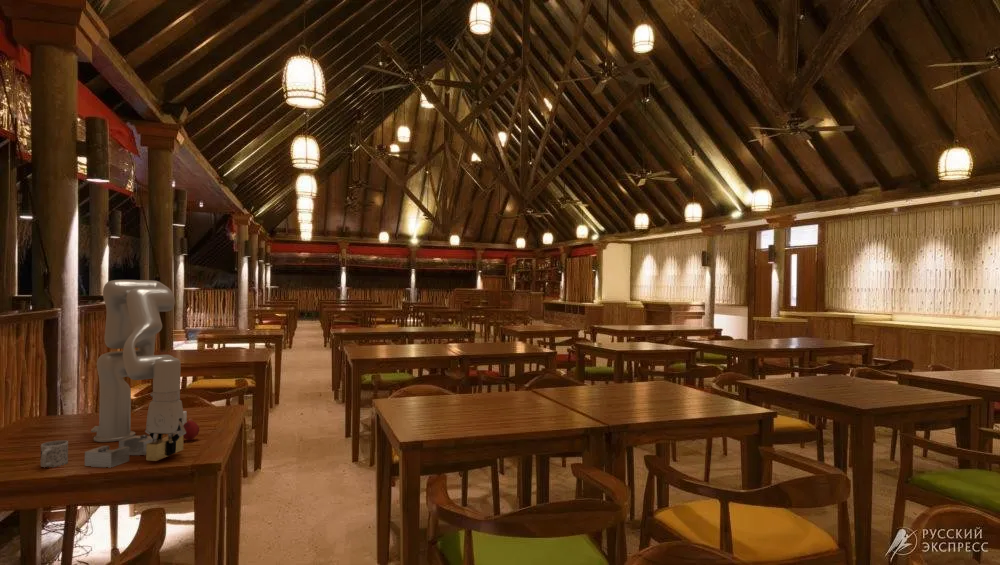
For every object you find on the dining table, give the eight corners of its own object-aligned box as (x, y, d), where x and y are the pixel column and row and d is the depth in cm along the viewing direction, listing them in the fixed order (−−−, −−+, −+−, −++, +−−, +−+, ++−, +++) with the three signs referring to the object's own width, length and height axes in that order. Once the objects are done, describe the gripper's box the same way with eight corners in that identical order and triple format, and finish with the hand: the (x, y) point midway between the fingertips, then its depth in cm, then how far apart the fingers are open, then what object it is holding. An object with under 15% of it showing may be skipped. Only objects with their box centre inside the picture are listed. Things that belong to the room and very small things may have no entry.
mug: (47, 462, 178) (48, 441, 178) (72, 461, 180) (72, 439, 180) (29, 472, 168) (29, 449, 169) (55, 470, 170) (55, 448, 170)
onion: (190, 443, 200) (191, 420, 200) (176, 442, 201) (177, 420, 202) (202, 439, 206) (202, 417, 206) (188, 438, 207) (189, 416, 207)
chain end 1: (84, 466, 174) (84, 449, 174) (103, 459, 181) (103, 443, 181) (111, 467, 172) (111, 450, 172) (129, 460, 179) (129, 444, 179)
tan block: (146, 460, 176) (146, 442, 176) (173, 449, 188) (173, 432, 188) (156, 460, 175) (156, 442, 175) (183, 449, 187) (183, 432, 187)
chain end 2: (118, 454, 186) (118, 439, 187) (135, 448, 193) (135, 433, 194) (143, 455, 185) (143, 439, 185) (159, 449, 192) (159, 434, 192)
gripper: (134, 397, 179) (132, 455, 179) (182, 400, 177) (180, 459, 177) (151, 393, 186) (150, 449, 186) (198, 395, 184) (196, 452, 184)
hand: (165, 453), depth 181 cm, fingers closed on tan block, 3 cm apart
